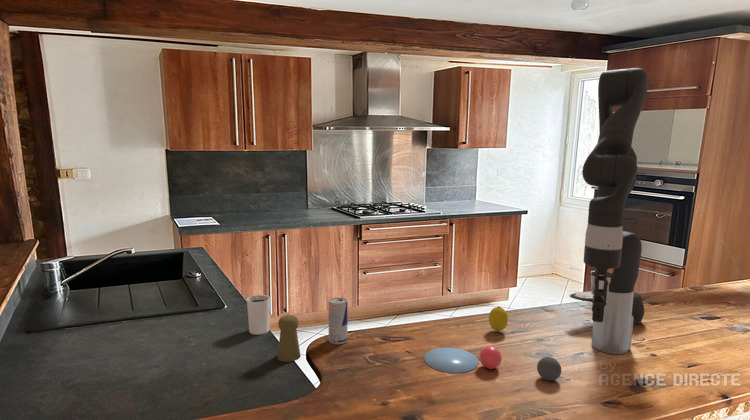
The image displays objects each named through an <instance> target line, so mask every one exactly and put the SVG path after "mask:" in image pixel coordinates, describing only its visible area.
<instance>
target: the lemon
mask: <svg viewBox="0 0 750 420" xmlns="http://www.w3.org/2000/svg"><path fill="white" fill-rule="evenodd" d="M488 323H489V326H490V327H491V329H493V330H494V331H495V332H497V333H498V332H500V331H503V330H504V329H506V328H507V325H508V323H509V317H508V313H507V311H506V310H505V309H504V308H503V307H502V306H499V305H498V306H495V307H494V308H492V309H491V310H490V312H489V314H488Z"/></svg>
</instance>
